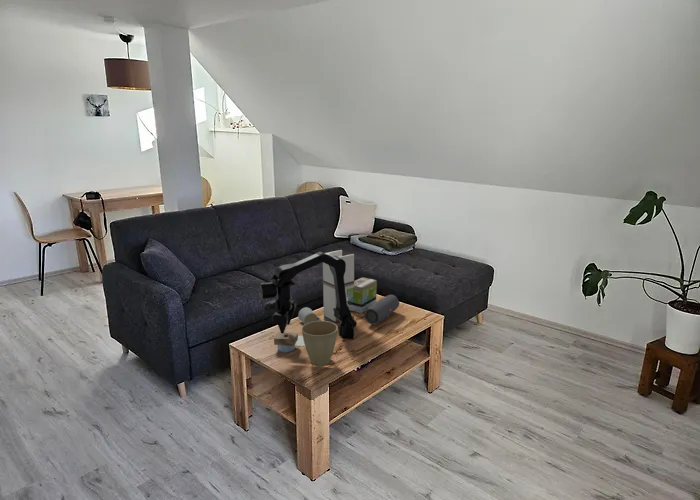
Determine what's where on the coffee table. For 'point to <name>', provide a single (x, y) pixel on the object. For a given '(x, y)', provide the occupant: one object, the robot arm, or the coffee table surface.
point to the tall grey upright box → (329, 285)
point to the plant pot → (319, 341)
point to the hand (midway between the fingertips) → (285, 328)
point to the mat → (300, 341)
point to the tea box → (362, 295)
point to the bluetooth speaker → (381, 309)
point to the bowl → (285, 348)
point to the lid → (286, 339)
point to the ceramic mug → (307, 315)
